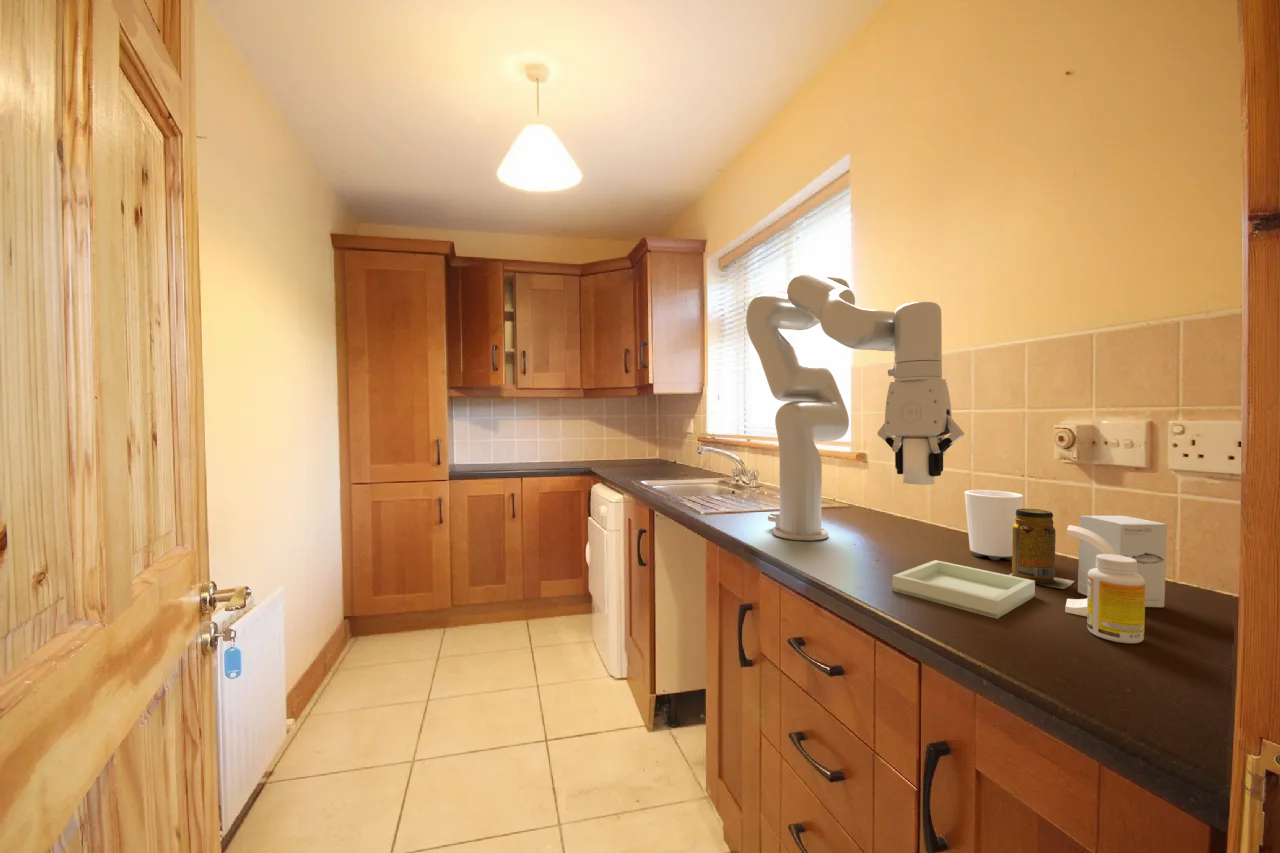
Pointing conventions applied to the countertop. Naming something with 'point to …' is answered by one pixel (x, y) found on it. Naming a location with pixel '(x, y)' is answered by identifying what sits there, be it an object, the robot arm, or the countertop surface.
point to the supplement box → (1128, 551)
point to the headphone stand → (1081, 604)
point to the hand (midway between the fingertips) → (918, 473)
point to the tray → (965, 587)
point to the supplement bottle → (1116, 599)
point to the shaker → (916, 460)
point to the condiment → (1035, 548)
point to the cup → (991, 522)
